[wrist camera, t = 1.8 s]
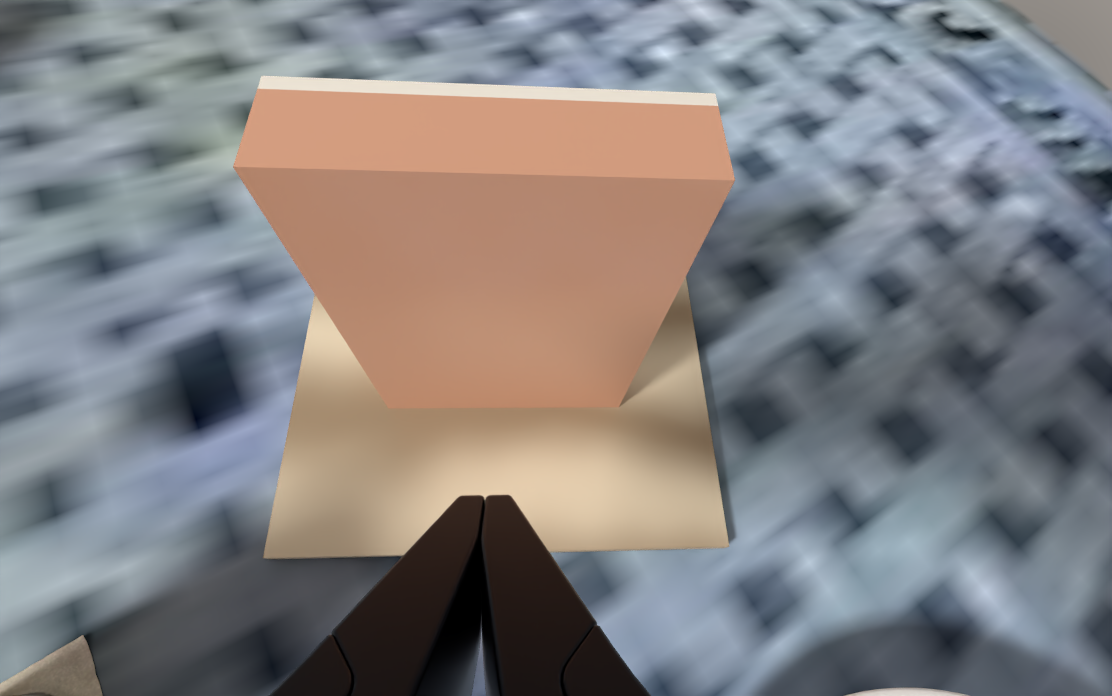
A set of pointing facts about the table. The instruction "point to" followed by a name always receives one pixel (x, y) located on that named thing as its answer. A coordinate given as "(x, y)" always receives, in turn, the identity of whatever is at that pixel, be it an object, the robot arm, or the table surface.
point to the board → (498, 459)
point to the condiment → (57, 674)
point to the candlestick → (906, 692)
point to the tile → (488, 227)
